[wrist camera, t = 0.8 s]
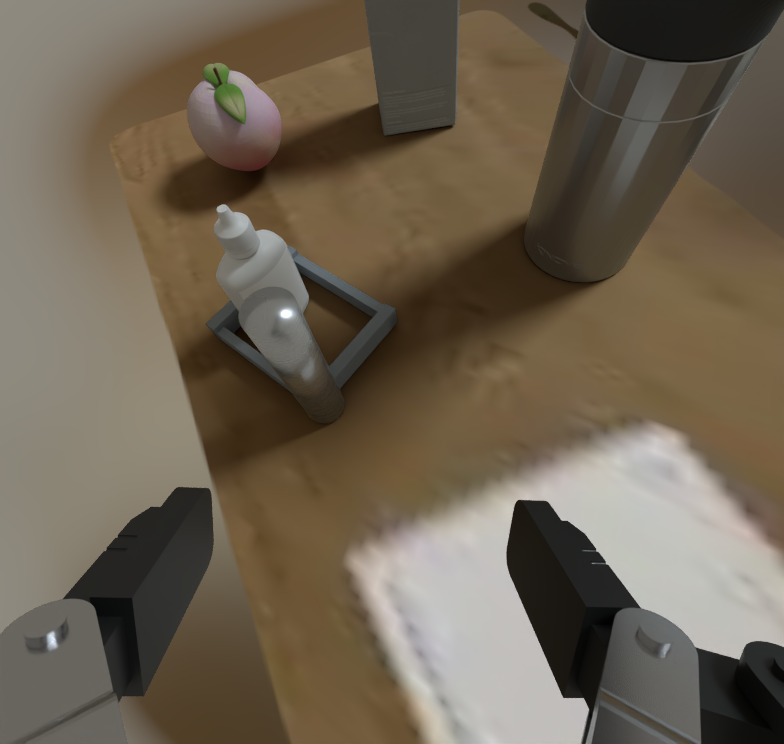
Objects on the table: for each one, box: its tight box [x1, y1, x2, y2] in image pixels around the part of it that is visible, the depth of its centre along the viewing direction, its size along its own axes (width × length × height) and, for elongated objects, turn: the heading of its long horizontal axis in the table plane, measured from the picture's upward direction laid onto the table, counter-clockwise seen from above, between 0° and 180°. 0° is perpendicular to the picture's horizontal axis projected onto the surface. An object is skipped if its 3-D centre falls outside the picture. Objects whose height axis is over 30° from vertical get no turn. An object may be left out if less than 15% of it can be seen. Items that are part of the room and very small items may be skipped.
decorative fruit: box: [187, 63, 282, 171], centre depth 42 cm, size 9×8×10 cm
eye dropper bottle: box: [214, 204, 309, 313], centre depth 32 cm, size 4×6×12 cm
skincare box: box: [364, 0, 459, 135], centre depth 41 cm, size 8×7×16 cm
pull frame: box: [206, 245, 397, 424], centre depth 30 cm, size 11×14×13 cm
